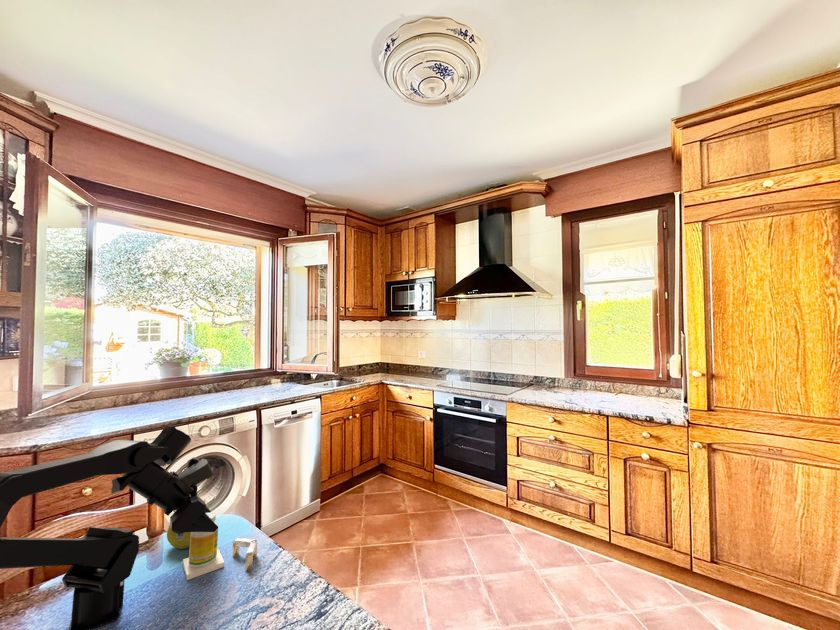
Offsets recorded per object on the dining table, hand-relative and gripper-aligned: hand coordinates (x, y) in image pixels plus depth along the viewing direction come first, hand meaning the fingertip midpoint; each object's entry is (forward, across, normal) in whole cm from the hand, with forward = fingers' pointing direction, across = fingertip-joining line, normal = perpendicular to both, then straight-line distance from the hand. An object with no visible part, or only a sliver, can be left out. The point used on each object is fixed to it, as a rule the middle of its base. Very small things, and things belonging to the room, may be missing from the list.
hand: (212, 521), depth 79 cm
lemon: (+5, +11, +9) cm, 15 cm away
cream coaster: (+5, 0, +7) cm, 9 cm away
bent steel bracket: (+11, -4, +2) cm, 12 cm away
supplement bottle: (+5, 0, +7) cm, 8 cm away
